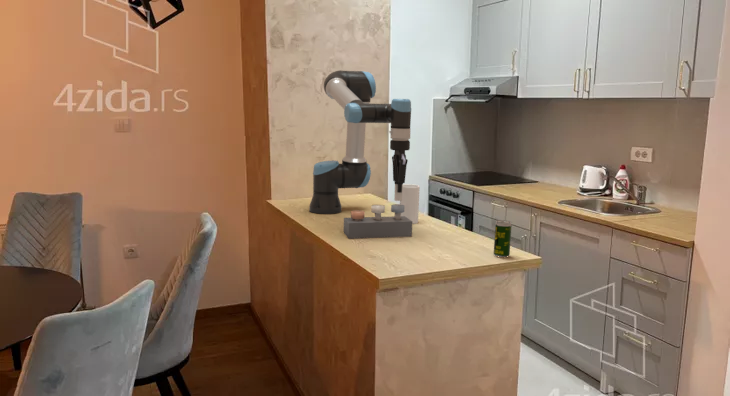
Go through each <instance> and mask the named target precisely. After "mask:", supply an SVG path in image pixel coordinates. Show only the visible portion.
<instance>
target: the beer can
mask: <svg viewBox="0 0 730 396" xmlns="http://www.w3.org/2000/svg"><path fill="white" fill-rule="evenodd" d="M494 225H495V226H494V240H493V242H494V243H493V255H495V256H499V257H507V256H509V257H510V253H511V241H512V240H511V239H512V236H511V235H512V222H511V221H510V220H504V219H503V220H501V219H500V220H496V221H495V224H494ZM495 256H494V257H495ZM499 257H498V258H499ZM507 258H508V257H507Z"/></svg>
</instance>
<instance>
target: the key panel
mask: <svg viewBox="0 0 730 396" xmlns="http://www.w3.org/2000/svg"><path fill="white" fill-rule="evenodd" d="M394 217H395V215H394V216H381V220H375V216H365V217H364V219H361V221H355V219H353V218H351V217H343V232H344V233H343V234H344V235H345V237H346V238H347V239H348V240H349V239H354V238H355V239H370V238H371V239H377V238H378V239H379V238H382V239H384V238H398V237H399V238H406V237H407V238H408V237H409V238H410V237H413V224H412V221H411V220H410V219H408V218H407V217H405V216H401V220H394Z"/></svg>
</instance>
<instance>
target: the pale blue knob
mask: <svg viewBox="0 0 730 396" xmlns="http://www.w3.org/2000/svg"><path fill="white" fill-rule="evenodd" d="M390 206H391V208H390V211H391V212H390V213H394V216H395V217H394V220H401V213H403V212H404V209H405V206H404V205H401V204H400V203H398V204H395V203H394V204H390Z"/></svg>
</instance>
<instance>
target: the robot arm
mask: <svg viewBox="0 0 730 396" xmlns="http://www.w3.org/2000/svg"><path fill="white" fill-rule="evenodd" d="M323 90H324V92H325V94H326V96H327V97H329V99H331V100H334V101H335V102H336V103H337V104H338V105H339V106H340V107H341V108H342V109H343V111H344V112H343V115H344V119H345V121H346V140H345V141H346V142H345V143H346V144H345V155H344V157H342V159H341V163H340V161H338V160H325V161H319V162H317V163H315V164H314V165H313V169H312V170H313V171H312V177H313V178H312V181H313V182H312V183H313V184H312V185H313V187H312V189H313V190H312V191H313V192H312V198H311V200H310V202H309V203H310V204H309V207H308V208H309V212H311V213H314V214H319V215H322V214H323V215H328V214H329V215H331V214H339V213H342V208H343V207H342V204H341V200H340V197H339V189H359V188H364V187H367V185H368V184H369V182H370V180H371V176H372V170H371V166H370V164H369V163H368V161H367V159H366V158H365V146H366V145H365V143H366V141H365V140H366V128H367V126H366V124H390V130H389V134H390V139H391V140H390V143H389V149H390V150H392V151H394V152H393V153H394V154H393V155H392V156H391V160H392V180H393V182H394V199H393V200H394V201H396V202H400V201H402V191H403V184H406V183H405V181H406V175H407V174H406V173H407V167H408V166H407V165H408V162H409V161H408V159H407V155H406V151H410V149H411V141H410V139H411V123H412V121H411V120H412V119H411V118H412V101H411V100H410V99H409V98H392V99H391V103H371V99H373V98H374V97H375V96H376V92H377V91H376V90H377V85H376V79H375V77H374V75H373V74H372V73H371V72H369V71H364V70H342V69H341V70H335V71H333V72H331V73H329V74H328V75H327V77H325V79H324V81H323Z"/></svg>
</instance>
